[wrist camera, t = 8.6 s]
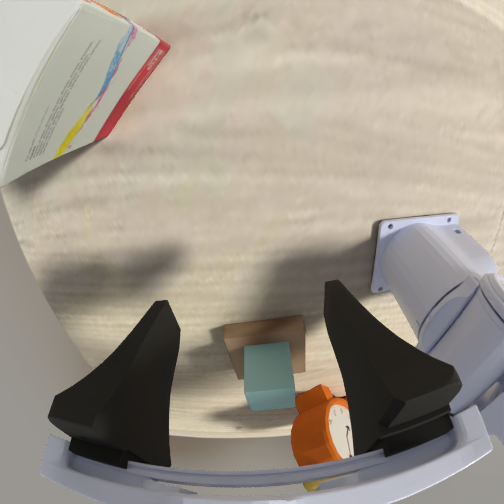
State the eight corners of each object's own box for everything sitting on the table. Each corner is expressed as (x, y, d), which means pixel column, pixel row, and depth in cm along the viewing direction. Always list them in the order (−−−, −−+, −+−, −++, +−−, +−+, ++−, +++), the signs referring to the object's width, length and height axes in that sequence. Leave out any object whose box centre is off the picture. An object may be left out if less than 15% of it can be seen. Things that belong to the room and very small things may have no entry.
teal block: (288, 341, 26) (294, 387, 22) (290, 365, 29) (295, 407, 24) (244, 346, 27) (244, 392, 22) (250, 369, 29) (250, 411, 24)
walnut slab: (301, 311, 28) (305, 329, 26) (302, 355, 32) (305, 372, 30) (224, 320, 28) (223, 338, 26) (238, 363, 32) (238, 379, 30)
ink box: (175, 46, 14) (87, -2, 4) (107, 139, 17) (-3, 200, 7) (98, 3, 11) (-6, -30, 1) (42, 90, 14) (-69, 121, 4)
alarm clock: (361, 397, 40) (385, 498, 23) (333, 411, 42) (350, 508, 25) (317, 379, 35) (339, 512, 18) (285, 396, 37) (296, 518, 20)
